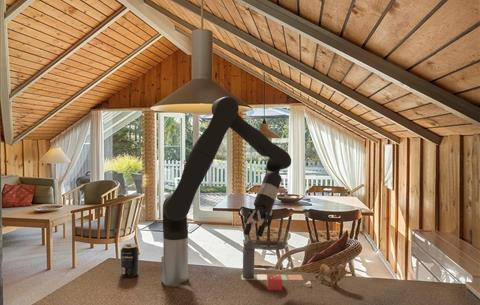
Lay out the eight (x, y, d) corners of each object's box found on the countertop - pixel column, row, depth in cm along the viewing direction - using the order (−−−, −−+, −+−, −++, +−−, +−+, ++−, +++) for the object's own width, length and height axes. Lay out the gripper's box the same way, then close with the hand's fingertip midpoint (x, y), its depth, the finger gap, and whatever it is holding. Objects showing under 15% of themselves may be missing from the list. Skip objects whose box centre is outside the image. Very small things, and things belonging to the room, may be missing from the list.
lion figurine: (349, 289, 133) (349, 265, 132) (339, 292, 130) (339, 267, 130) (319, 277, 145) (319, 254, 145) (310, 280, 142) (310, 257, 142)
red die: (267, 293, 128) (268, 279, 128) (266, 288, 133) (266, 274, 133) (282, 293, 128) (282, 279, 128) (280, 288, 133) (280, 274, 133)
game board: (235, 286, 135) (235, 282, 135) (235, 275, 147) (235, 271, 147) (311, 286, 135) (311, 283, 135) (305, 275, 147) (305, 272, 147)
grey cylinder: (240, 277, 140) (240, 241, 140) (247, 274, 144) (247, 238, 143) (249, 279, 138) (250, 243, 137) (256, 276, 141) (256, 240, 141)
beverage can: (131, 271, 150) (131, 242, 150) (141, 274, 146) (142, 245, 146) (116, 276, 144) (117, 246, 144) (127, 279, 140) (127, 248, 140)
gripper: (249, 193, 149) (234, 230, 143) (270, 192, 137) (255, 232, 131) (262, 201, 152) (248, 238, 146) (284, 200, 141) (270, 240, 135)
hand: (252, 235), depth 139 cm, fingers open, 8 cm apart
